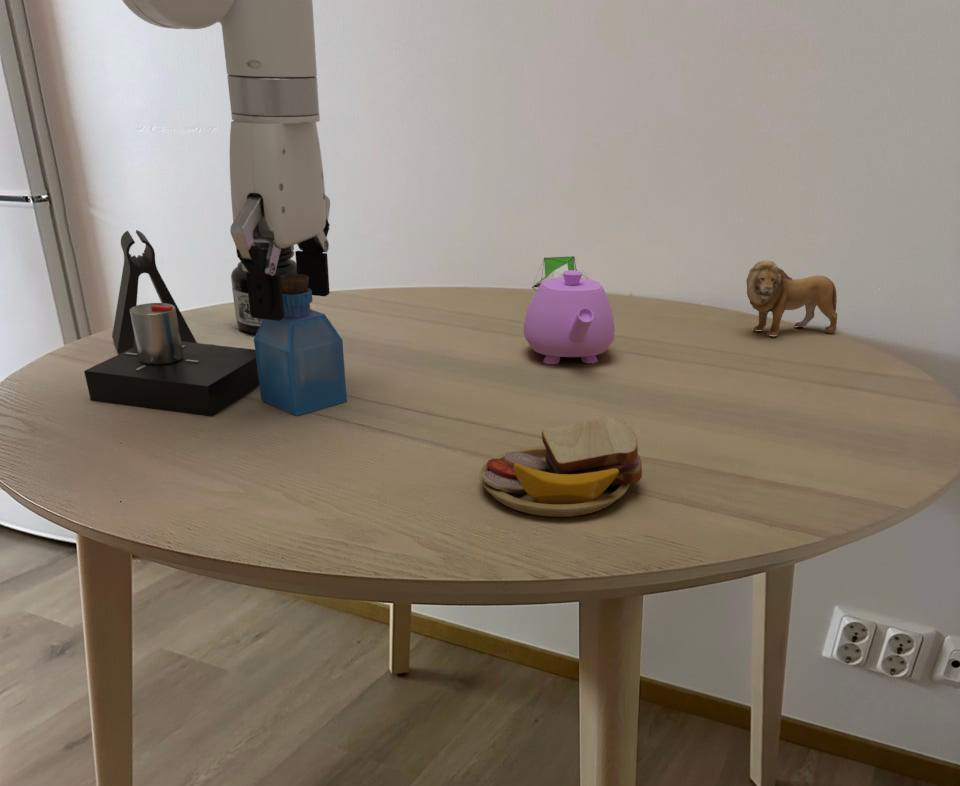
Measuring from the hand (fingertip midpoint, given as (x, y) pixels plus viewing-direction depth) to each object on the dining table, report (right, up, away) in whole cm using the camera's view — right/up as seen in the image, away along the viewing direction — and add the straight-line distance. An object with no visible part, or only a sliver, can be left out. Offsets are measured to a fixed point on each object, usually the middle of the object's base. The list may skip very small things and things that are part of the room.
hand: (291, 305), depth 89 cm
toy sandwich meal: (+25, -19, -11) cm, 33 cm away
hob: (-13, -6, +8) cm, 16 cm away
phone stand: (-21, +3, +21) cm, 30 cm away
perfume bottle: (0, -8, +5) cm, 10 cm away
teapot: (+28, +1, +18) cm, 34 cm away
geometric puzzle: (+29, +13, +37) cm, 48 cm away
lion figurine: (+57, +6, +28) cm, 64 cm away
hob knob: (-15, -3, +7) cm, 17 cm away
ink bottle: (-8, +7, +27) cm, 29 cm away
